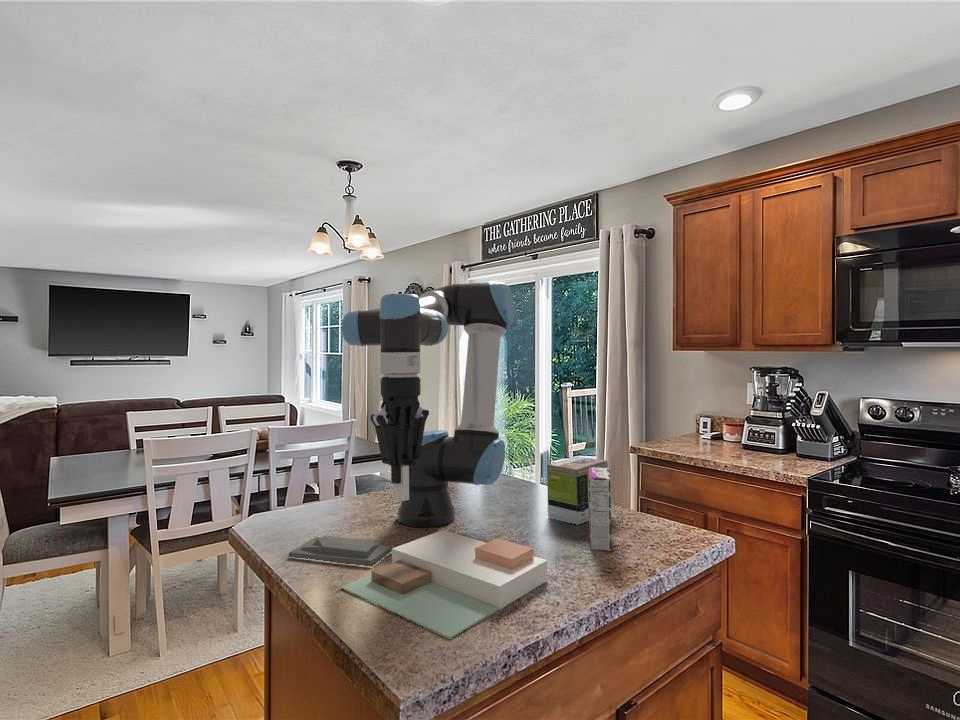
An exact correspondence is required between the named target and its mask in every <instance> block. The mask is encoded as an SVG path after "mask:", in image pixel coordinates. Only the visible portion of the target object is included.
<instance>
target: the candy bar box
mask: <svg viewBox="0 0 960 720" xmlns="http://www.w3.org/2000/svg"><path fill="white" fill-rule="evenodd" d="M610 473H611V472H610V468H609V467H608V468H595V467H591V468H589V521H588V532H589V534H588V536H589V539H588V540H589V549H590V550H591V551H599V550H602V551H603V552H611V551H612V499H611V498H612V497H611V495H612V494H611V493H612V492H611V486H612V485H611V474H610ZM602 551H601V552H602Z"/></svg>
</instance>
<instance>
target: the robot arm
mask: <svg viewBox="0 0 960 720" xmlns="http://www.w3.org/2000/svg"><path fill="white" fill-rule="evenodd" d="M515 308H516V307H515V301H514V297H513V294H512V291H511V289H510V287H509V286H508V284H507V283H506V282H502V281H487V282H471V283H467V282H466V283H453V284H449V285H444V286H442V287H438V288H435V289H431V290H429V291H426V292H423V293H421V294H420V295H419V296H418V295H416V294H414V293H413V294H411V293H388V294H385V295H382V297H381V299H380V305H379V308H373V309H369V310H360V309H359V310H355V311H349V312H347V313H346V314H345V315H344V316H343V317H342V320H341V321H342V322H341V334H342V337H343V339H344V341H345V342H346V343H347V344H349V345H350V346H357V347H358V346H360V347H364V346H370V347H371V346H380V356H379V357H380V359H379V360H380V363H379V365H380V369H379V371H380V372H379V373H380V374H381V375H383V376H381V378H380V396H381V397H382V403H381V405H380V410H379V411H378V412H377V413H376V414H371V415H370V417H369V418H370V421H371V423H372V425H373V426H374V429H375V434H376V435H375V436H376V440H377V444H378V448H379V453H380V457H381V459H380V460H381V462H382V464H385V465H389V466H390V477H391V483H392V484H393V500H397V501H401V502H400V506H399V507H398V509H397V522H398V523H400V524H401V523H402V525H404V526H407V525H408V527H412V526H413V527H414V528H432V527H440V526H445V525H447V524H449V523H452V522H454V520H455V518H456V517H455V513H456V512H455V511H456V509H455V507H454V506H453V502H452V499H451V495H450V491H449V483H456V484H457V483H458V484H459V483H460V484H470V485H475V486H480V485H483V486H486V485H487V486H489V485H492V484H494V483H496V482H497V480H498V479H499V477H500V476H501V474H502V471H503V468H504V465H505V460H506V444H505V442H504V440H502V439H501V438H500V432H499V431H498V430H497V428H496V427H495V412H496V411H495V410H496V402H497V401H496V400H497V399H496V398H497V387H498V374H499V373H498V371H499V359H500V347H501V346H500V345H501V344H500V343H501V338H502V337H503V336H504V335H506V333H507V326H511V325H513V324H514V322H515V318H516V311H515ZM449 326H463V331H464V332H465V333H466V334H467V335H468V337H467V338H468V342H467V352H466V363H465V372H464V373H465V375H464V384H463V385H464V387H463V396H462V397H463V398H462V407H461V408H462V409H461V420H460V422H461V423H460V424H459V425H458V426H456V427H455V428H454V434H453V436H449V432H448V431H447V430H446V429H440V430H439V429H437V430H428V431H425V425H426V422H427V419H428V417H429V414H430V411H429V410H428V409H424V408H422V407H421V406H420V405H421V403H420V400H419V396H420V395H421V391H422V388H421V378H420V376H418V375H419V374H421V346H425V347H427V346H430V347H431V346H434V345H438V344H440V343H442V342H443V341H444V340H445V338H446V337H447V335H448V331H449Z"/></svg>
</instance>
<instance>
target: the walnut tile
mask: <svg viewBox="0 0 960 720" xmlns="http://www.w3.org/2000/svg"><path fill="white" fill-rule="evenodd" d="M371 574H372V582H374V583H377V584H379V585H381V586H383V587H386V588H388V589H390V590H392V591H395V592H397V593H399V594H401V595H404V594H406V593H408V592H410V591H413V590H415V589H417V588H419V587H422V586H424V585H426V584H428V583H430V582H431V572H429V571H427V570H424V569H421V568H419V567H416V566H414V565H411V564H408V563H406V562H403V561H401V560H399V561H396V562H393V563H392V562H390V563H388V564H386V565H383V566H381V567H379V568H376V569H372V570H371Z"/></svg>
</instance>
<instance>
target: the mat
mask: <svg viewBox="0 0 960 720" xmlns="http://www.w3.org/2000/svg"><path fill="white" fill-rule="evenodd" d="M341 588H343V589H345V590H347V591H349V592H351V593H353V594H355V595H357V596H359V597H362V598H363V599H362V598H361V599H362V600H364V599H366V600H368V601H370V602H373V603H375V604H377V605H379V606H381V607H384V608H386V609H388V610H391V611H392V612H395V613H397V614H399V615H401V616H403V617H405V618H407V619H409V620H411V621H413V622H415V623H416V624H415V623H414V624H415V625H417V624H418V626H420V625H421V626H420V627H422V626H423V627H422V628H424V629H426V630H428V631H430V632H433V633H435V634H437V635H439V636H441V637H443V638H445V639H448V640H450V639H451V640H452V639H454V638H455V636H456V635H457V636H459V635H460V634H462V633H464V632H465V631H467V630H469V629H470V628H472V627H474V626H476V625H477V624H478V623H480V622H482V621H483V620H485V619H487V618H488V617H491V616H492V615H493V614H495V613H497V612H498V611H499V609H498V608H496V607H493V606H491V605H488V604H485V603H483V602H480V601H478V600H475V599H472V598H470V597H467V596H465V595H462V594H459V593H457V592H454V591H452V590H449V589H446V588H444V587H441V586H439V585H436V584H433V583H431V582H430V583H428V584H426V585H424V586H422V587H419V588H417V589H415V590H413V591H410V592H408V593H406V594H404V595H401V594H399V593H397V592H395V591H392V590H390V589H388V588H386V587H383V586H381V585H379V584H377V583H374V582H372V573H371V574H369V575H367V576H363V577H362V578H359V579H356V580H354V581H351V582H348V583H347V584H343V585H342V586H340V589H341ZM347 591H346V592H347ZM349 592H348V593H349ZM351 593H350V594H351ZM353 594H352V595H353ZM355 595H354V596H355ZM357 596H356V597H357ZM359 597H358V598H359ZM366 600H365V601H366ZM368 601H367V602H368ZM370 602H369V603H370ZM375 604H374V605H375ZM377 605H376V606H377ZM379 606H378V607H379ZM381 607H380V608H381ZM392 612H391V613H392ZM405 618H404V619H405ZM407 619H406V620H407ZM409 620H408V621H409ZM411 621H410V622H411ZM413 622H412V623H413ZM473 625H474V626H473ZM471 626H472V627H471ZM468 628H469V629H468ZM466 629H467V630H466ZM464 630H465V631H464ZM463 631H464V632H463ZM461 632H462V633H461ZM459 633H460V634H459ZM458 634H459V635H458ZM457 636H456V637H457ZM453 637H454V638H453Z"/></svg>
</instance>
